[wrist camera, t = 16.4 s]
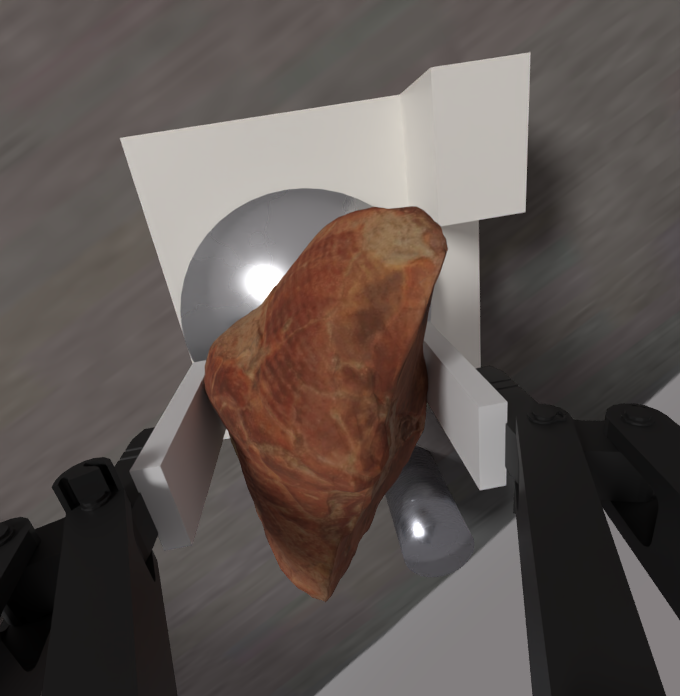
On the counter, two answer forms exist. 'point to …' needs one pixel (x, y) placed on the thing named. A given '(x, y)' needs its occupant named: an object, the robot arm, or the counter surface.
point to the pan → (251, 258)
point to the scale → (357, 171)
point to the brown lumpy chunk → (331, 386)
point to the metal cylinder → (428, 519)
